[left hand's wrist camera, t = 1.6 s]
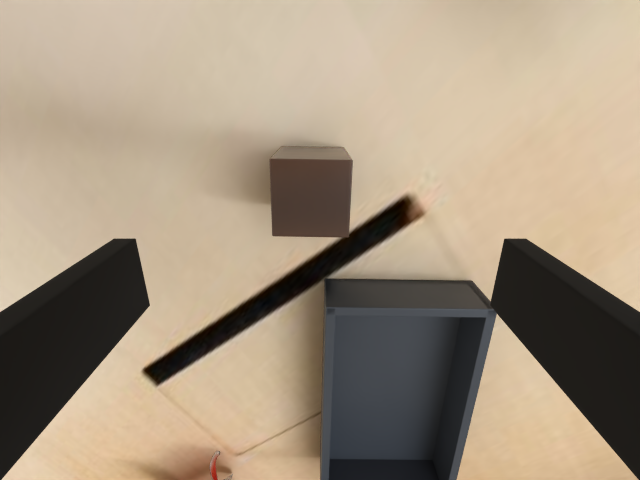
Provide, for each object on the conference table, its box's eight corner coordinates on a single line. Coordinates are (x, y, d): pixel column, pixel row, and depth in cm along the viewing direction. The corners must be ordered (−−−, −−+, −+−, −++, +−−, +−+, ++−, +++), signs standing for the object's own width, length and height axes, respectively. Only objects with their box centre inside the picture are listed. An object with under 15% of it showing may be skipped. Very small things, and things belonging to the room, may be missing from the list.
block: (281, 146, 27) (269, 158, 20) (344, 147, 27) (352, 160, 20) (282, 207, 29) (272, 236, 22) (341, 208, 29) (348, 237, 22)
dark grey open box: (324, 278, 31) (327, 351, 22) (472, 280, 31) (537, 354, 22) (320, 458, 40) (320, 565, 30) (435, 459, 40) (471, 566, 30)
